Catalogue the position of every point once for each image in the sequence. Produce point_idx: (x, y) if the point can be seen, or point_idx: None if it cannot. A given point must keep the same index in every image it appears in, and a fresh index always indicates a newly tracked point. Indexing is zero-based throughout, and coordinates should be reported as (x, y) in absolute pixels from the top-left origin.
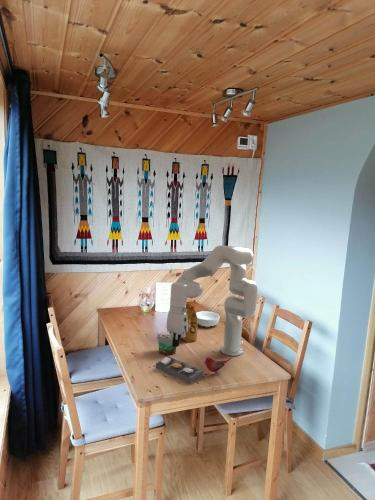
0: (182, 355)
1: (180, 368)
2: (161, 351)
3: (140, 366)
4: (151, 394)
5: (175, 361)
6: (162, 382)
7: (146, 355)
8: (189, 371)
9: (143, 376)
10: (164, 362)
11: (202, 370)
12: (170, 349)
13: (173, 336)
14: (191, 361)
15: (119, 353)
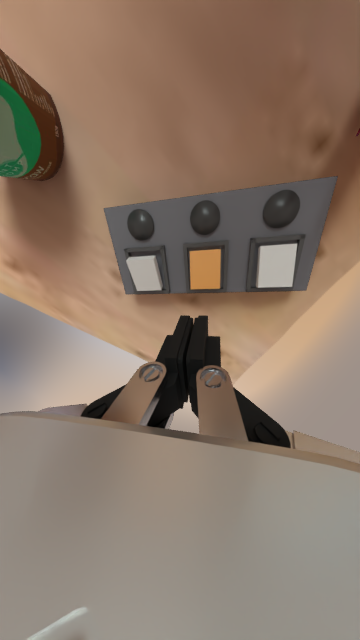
0: (84, 69)
1: (227, 268)
2: (31, 178)
3: (102, 308)
4: (232, 380)
5: (158, 223)
6: (212, 331)
7: (38, 241)
8: (291, 278)
9: (154, 339)
10: (152, 288)
11: (329, 179)
12: (38, 137)
13: (169, 426)
14: (169, 83)
15: (9, 296)
